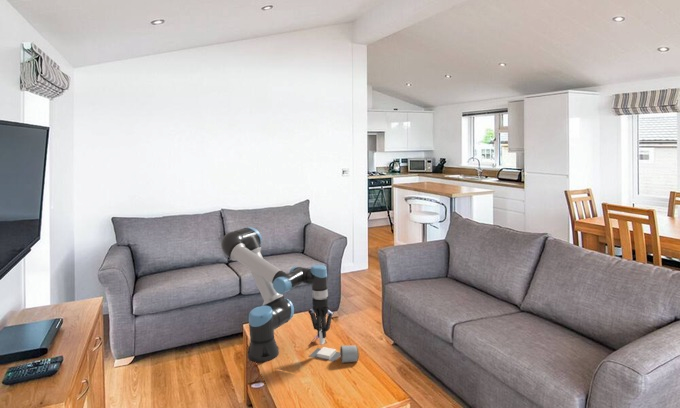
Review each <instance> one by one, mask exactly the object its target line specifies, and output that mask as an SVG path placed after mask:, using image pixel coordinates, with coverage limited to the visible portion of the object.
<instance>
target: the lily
mask: <svg viewBox="0 0 680 408" xmlns="http://www.w3.org/2000/svg"><path fill="white" fill-rule="evenodd" d="M321 330H322V329H321ZM315 339H316V340H318V339H319V337H318V332H316V335H315V336H314V338H313V339H312V340H311V341H310V343H313V341H314V340H315ZM325 343H326V344H327V343H328V342H327V341H326V339H325Z"/></svg>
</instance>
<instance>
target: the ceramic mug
mask: <svg viewBox="0 0 680 408" xmlns="http://www.w3.org/2000/svg"><path fill="white" fill-rule="evenodd" d="M359 351H360V350H359V347H358V346H357V345H352V344H351V345H340V348H339V352H340V361H341V364H345V363H353V362H354V363H355V362H358V361H359V359H360V352H359Z"/></svg>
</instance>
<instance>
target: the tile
mask: <svg viewBox="0 0 680 408" xmlns="http://www.w3.org/2000/svg"><path fill="white" fill-rule="evenodd" d="M320 349H321V350H320V351H319V352H318V353H317V357H320V358H325V359H329V360H330V359H331V358H332V357H333V356H334V355H335V353H336V352H337V349H335V348H331V347H326V346H322V348H320Z"/></svg>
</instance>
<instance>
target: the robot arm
mask: <svg viewBox="0 0 680 408" xmlns="http://www.w3.org/2000/svg"><path fill="white" fill-rule="evenodd" d="M262 239H263V237H262V235H261V233H260V231H259V230H258V229H256V228H254V227H250V226H249V227H243V228H240V229H237V230H234V231H230V232H227V233H226V234H225V235H224V236H223V237H222V239H221V241H220V246H221V250H222V252H223V254H224V255H225V257H227V258H229V259H230V260H232V261H234V262H235V261H237V262H238V263H240V264H242V265H243V266H244V267H246V268H248V269H249V271H250V273H251V275H252V277H253V279H254V281H255V284H256V286H257V288H258V290H259V293H260V295H261V298H262V300H263V303H262V305H261V306H257V307H254V308H253V309H251V310H250V312H249V314H248V326H249V327H248V328H249V340H250V342H249V345H248V350H247V358H248V360H249V361H251V362H252V363H260V364H261V363H266V362H270V361H273V360H274V359H276V358H277V357H278V356H279V353H280V351H279V349H280V348H279V347H278V345H277V342H276V338H275V330H276V329H278V328H279V327H282V326H283V325H284V324H287V323H288V322H289V321H290V320H292V318H293V317H294V313H295V307H294V305H293V302H292V301H291V300H289V299H288V298H285V296H284V294H285V293H288V292H290V291H291V290H293V289H295V288H298V287H299V286H301V285H303V284H305V285H311V297H312V308H310V309H309V310H308V311H307V312H308V314H309V316H310V319H311V324H312V327H313V330H315V331H317V333H318V337H319V338H318V339H319V345H321V346H323V345H324V344H325V343H326V341H325V340H326V339H325V338H327V332H328V331H329V330H330V328H331V322H332V318H333V315H334V314H335V313H334V311H331V310H330V308H329V297H328V296H329V293H328V292H329V291H328V290H329V289H328V271H327V266H326V265H324V264H314V265H312V266H311V267H310V268H309V267H307V268H306V267H304V266H303V267H302V266H293V267H292V268H291V269H290V270H289V272H288V273H287V272H286V271H283V270H282V269H280V268H279V267H277V266H275V264H272V263H271V262H269V261H268V260H266V259H264V257H263V255H262V253H261V251H262V246H261V244H262V243H263V242H262ZM321 329H322V330H321Z"/></svg>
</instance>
